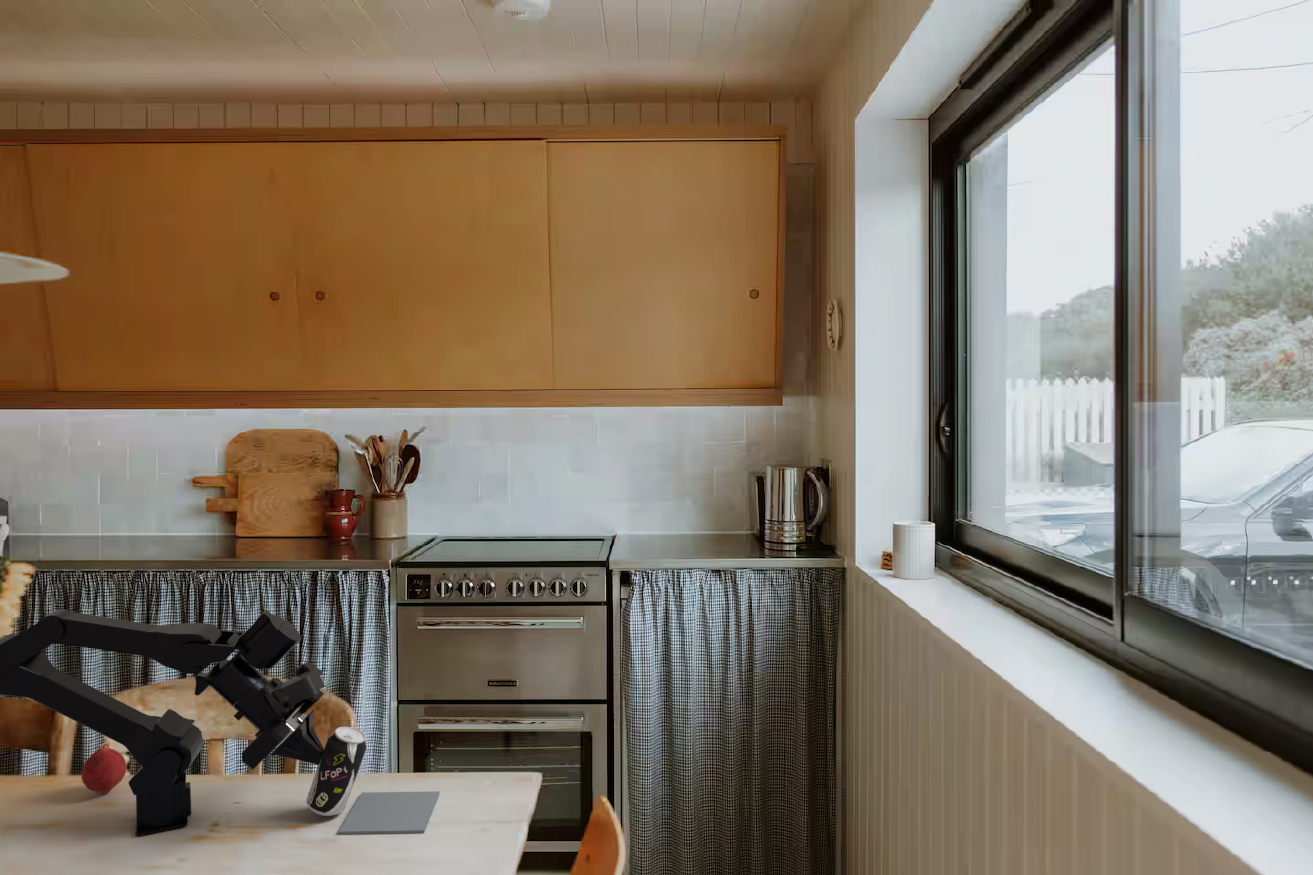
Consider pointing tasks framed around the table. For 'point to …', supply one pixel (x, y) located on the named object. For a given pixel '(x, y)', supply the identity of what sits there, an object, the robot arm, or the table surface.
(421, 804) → the mat
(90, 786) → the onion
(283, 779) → the table surface
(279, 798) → the table surface
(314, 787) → the beverage can
